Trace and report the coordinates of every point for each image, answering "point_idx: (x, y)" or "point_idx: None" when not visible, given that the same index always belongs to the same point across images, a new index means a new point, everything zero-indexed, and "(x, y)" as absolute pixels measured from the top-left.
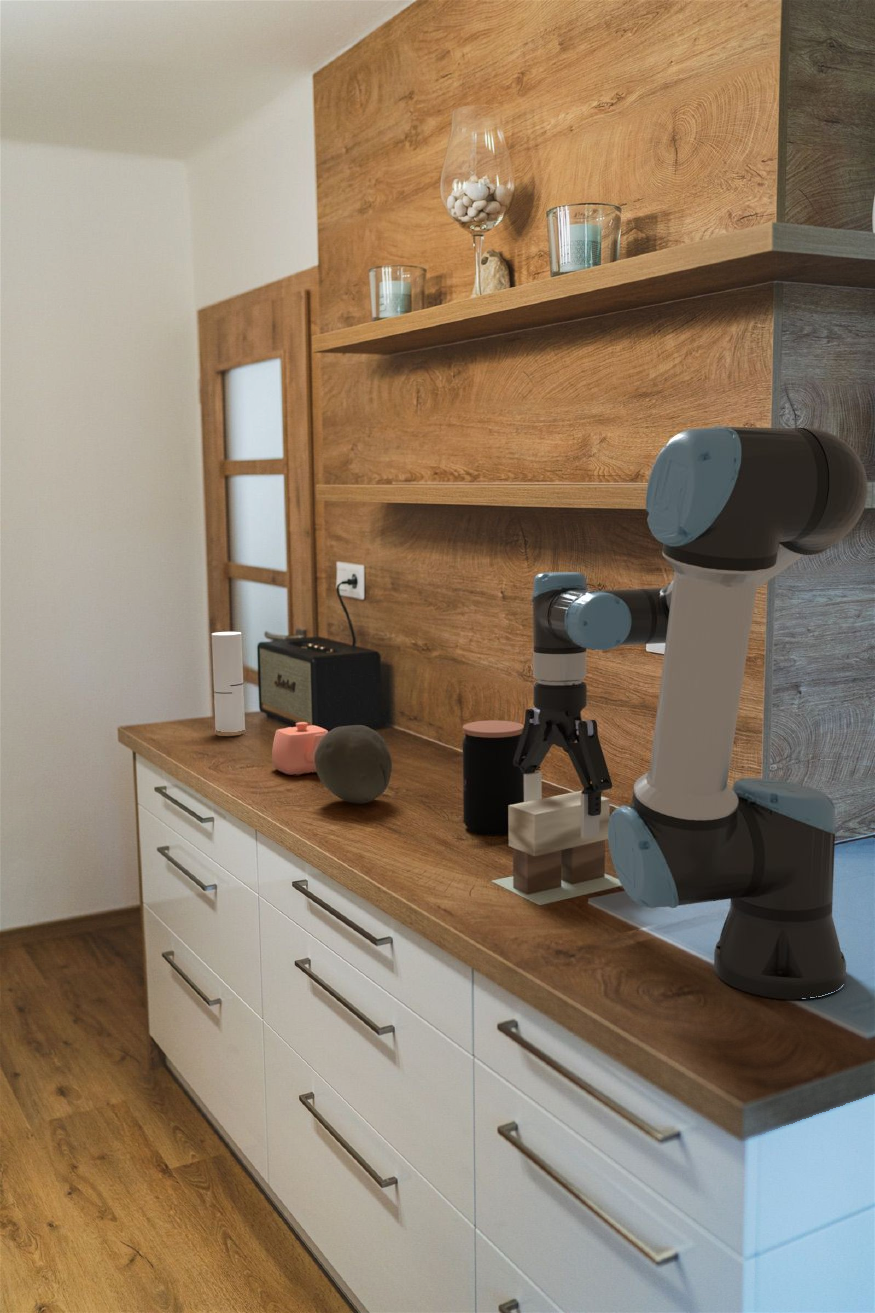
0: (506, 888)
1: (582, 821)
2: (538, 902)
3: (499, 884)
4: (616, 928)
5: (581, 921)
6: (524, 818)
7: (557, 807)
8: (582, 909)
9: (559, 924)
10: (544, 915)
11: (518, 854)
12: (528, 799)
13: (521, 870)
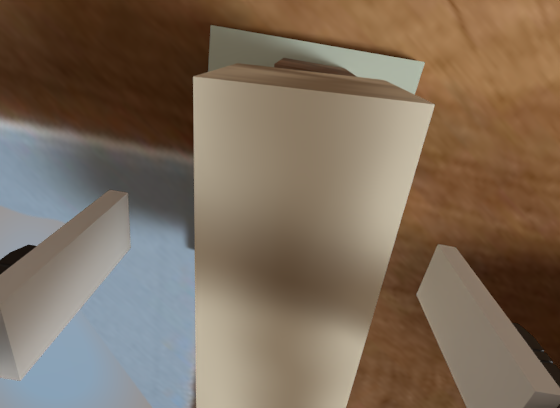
0: (354, 50)
1: (84, 220)
2: (224, 36)
3: (388, 58)
4: (59, 91)
5: (126, 65)
6: (286, 82)
7: (225, 247)
8: (180, 121)
9: (136, 9)
10: (200, 26)
11: (326, 71)
12: (464, 295)
13: (309, 65)
